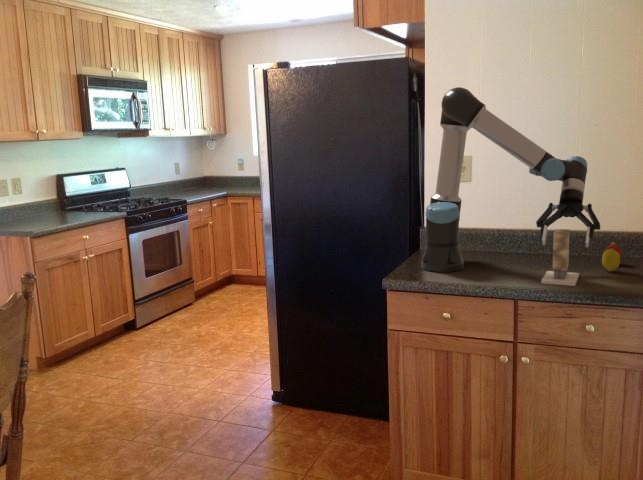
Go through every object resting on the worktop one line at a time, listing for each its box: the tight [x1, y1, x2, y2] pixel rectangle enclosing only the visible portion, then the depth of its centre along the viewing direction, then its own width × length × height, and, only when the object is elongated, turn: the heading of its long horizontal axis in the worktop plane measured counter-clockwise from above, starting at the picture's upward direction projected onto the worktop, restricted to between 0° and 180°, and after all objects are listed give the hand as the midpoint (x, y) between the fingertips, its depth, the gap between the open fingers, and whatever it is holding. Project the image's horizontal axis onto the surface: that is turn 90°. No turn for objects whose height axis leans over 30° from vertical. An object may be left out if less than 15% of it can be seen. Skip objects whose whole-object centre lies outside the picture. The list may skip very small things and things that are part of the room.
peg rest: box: [540, 268, 580, 287], centre depth 192 cm, size 10×14×4 cm
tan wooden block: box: [551, 228, 570, 271], centre depth 191 cm, size 4×8×12 cm, turn 152°
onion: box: [603, 242, 623, 259], centre depth 211 cm, size 6×6×8 cm
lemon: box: [601, 248, 621, 273], centre depth 200 cm, size 6×6×8 cm
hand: (564, 244), depth 198 cm, fingers open, 13 cm apart
